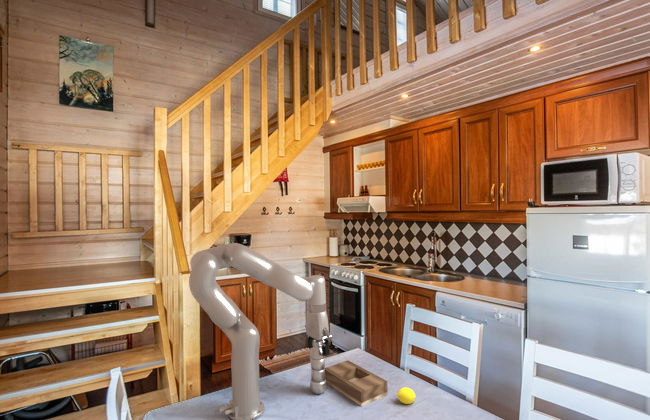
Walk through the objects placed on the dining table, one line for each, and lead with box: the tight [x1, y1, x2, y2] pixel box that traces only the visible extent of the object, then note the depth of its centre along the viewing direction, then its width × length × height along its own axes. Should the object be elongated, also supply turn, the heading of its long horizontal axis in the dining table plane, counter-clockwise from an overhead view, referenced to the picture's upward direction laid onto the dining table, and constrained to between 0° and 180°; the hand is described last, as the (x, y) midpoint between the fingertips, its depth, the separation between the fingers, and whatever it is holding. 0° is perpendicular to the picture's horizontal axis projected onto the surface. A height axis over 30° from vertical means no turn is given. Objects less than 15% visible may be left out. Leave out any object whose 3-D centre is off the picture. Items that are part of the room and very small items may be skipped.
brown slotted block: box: [325, 359, 389, 407], centre depth 140 cm, size 13×24×5 cm, turn 35°
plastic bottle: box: [309, 339, 328, 395], centre depth 138 cm, size 6×7×20 cm
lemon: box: [396, 386, 417, 405], centre depth 128 cm, size 7×5×5 cm
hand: (318, 351), depth 138 cm, fingers open, 9 cm apart
